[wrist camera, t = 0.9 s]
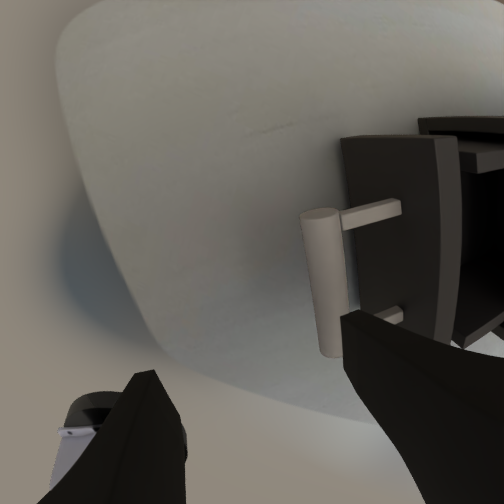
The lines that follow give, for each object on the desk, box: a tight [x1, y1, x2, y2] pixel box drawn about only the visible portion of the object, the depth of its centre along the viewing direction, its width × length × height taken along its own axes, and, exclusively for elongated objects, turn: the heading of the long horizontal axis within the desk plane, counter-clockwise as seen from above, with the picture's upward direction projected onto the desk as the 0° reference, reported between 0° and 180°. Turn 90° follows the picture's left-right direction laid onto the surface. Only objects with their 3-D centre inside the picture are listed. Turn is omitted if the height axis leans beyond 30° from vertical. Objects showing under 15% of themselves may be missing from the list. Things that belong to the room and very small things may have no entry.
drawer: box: [299, 134, 504, 358], centre depth 13 cm, size 17×10×7 cm, turn 103°
